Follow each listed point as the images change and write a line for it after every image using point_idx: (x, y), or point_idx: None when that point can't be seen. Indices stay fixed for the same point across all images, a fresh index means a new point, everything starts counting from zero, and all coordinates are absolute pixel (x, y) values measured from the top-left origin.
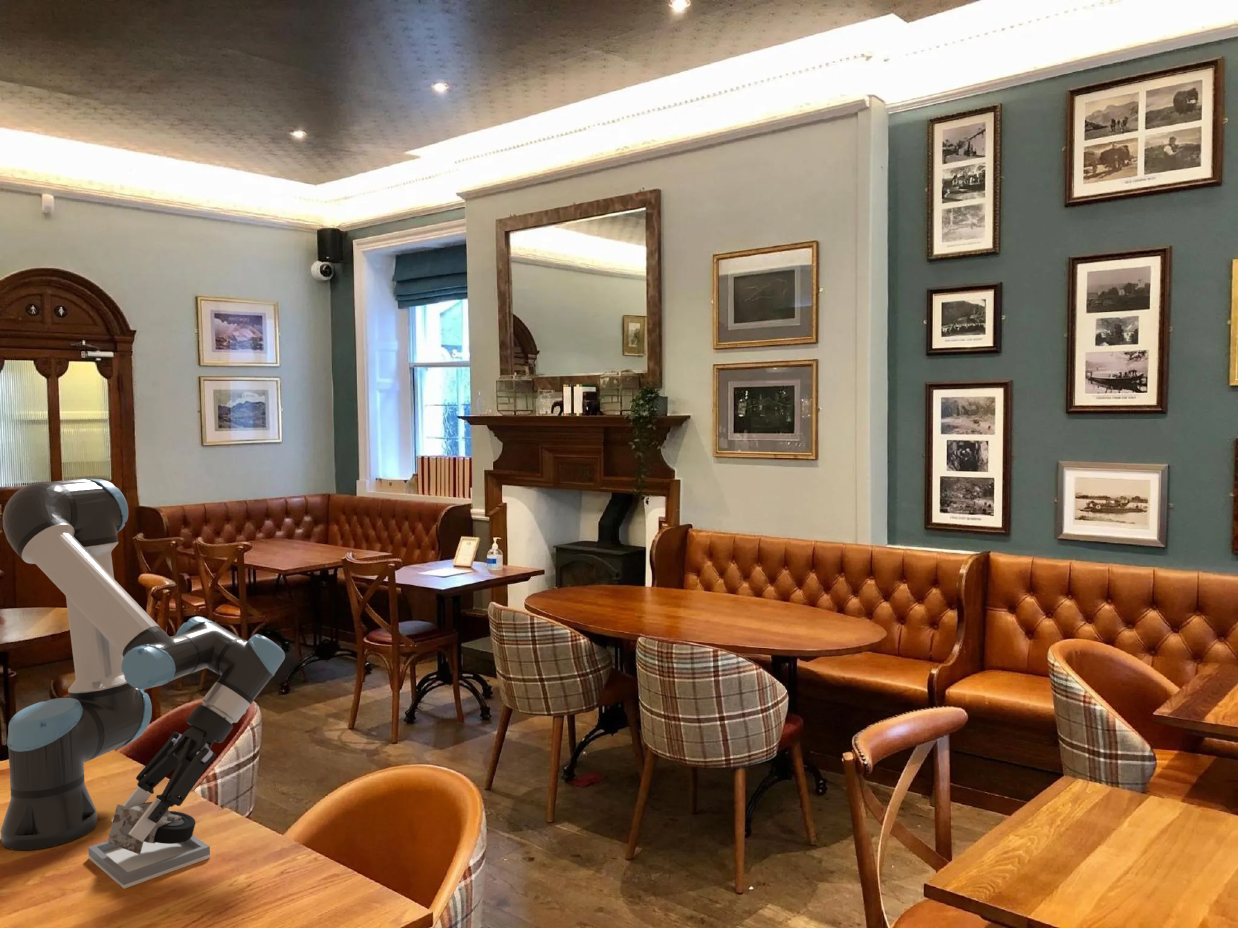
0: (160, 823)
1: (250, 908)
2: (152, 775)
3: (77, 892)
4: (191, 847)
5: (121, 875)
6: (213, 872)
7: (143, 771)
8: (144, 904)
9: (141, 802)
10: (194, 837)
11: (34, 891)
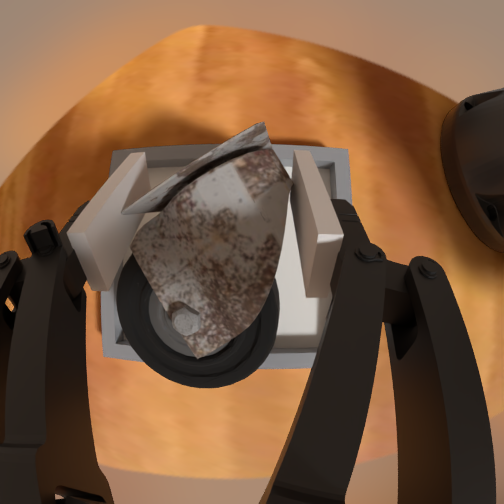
0: (155, 267)
1: None
2: (328, 320)
3: (187, 96)
4: None
5: (123, 150)
6: None
7: (433, 297)
8: (47, 173)
9: (302, 250)
10: None
11: (260, 55)
